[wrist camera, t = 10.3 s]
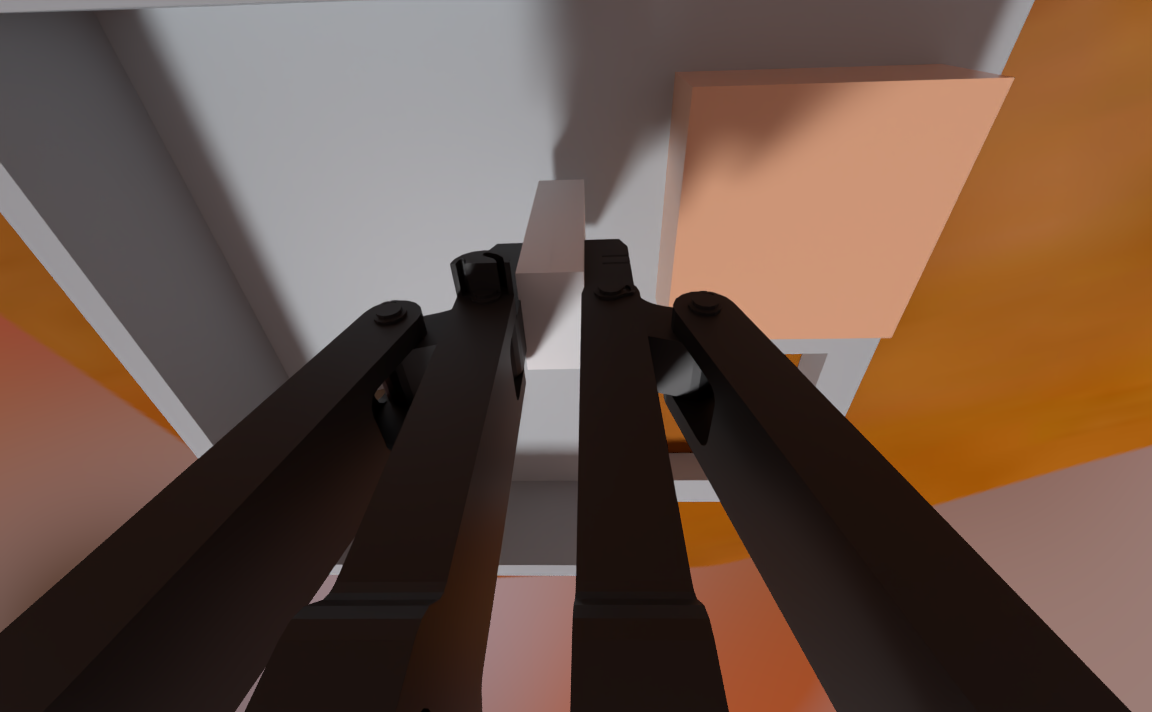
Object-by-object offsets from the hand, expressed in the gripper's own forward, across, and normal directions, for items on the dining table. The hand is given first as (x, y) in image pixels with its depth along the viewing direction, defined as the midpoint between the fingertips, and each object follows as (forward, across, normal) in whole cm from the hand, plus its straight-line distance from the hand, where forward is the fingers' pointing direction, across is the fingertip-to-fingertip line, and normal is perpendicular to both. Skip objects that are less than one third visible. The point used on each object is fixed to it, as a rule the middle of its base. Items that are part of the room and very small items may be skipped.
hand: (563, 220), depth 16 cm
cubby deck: (+3, -1, -5) cm, 6 cm away
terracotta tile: (+1, +8, 0) cm, 8 cm away
